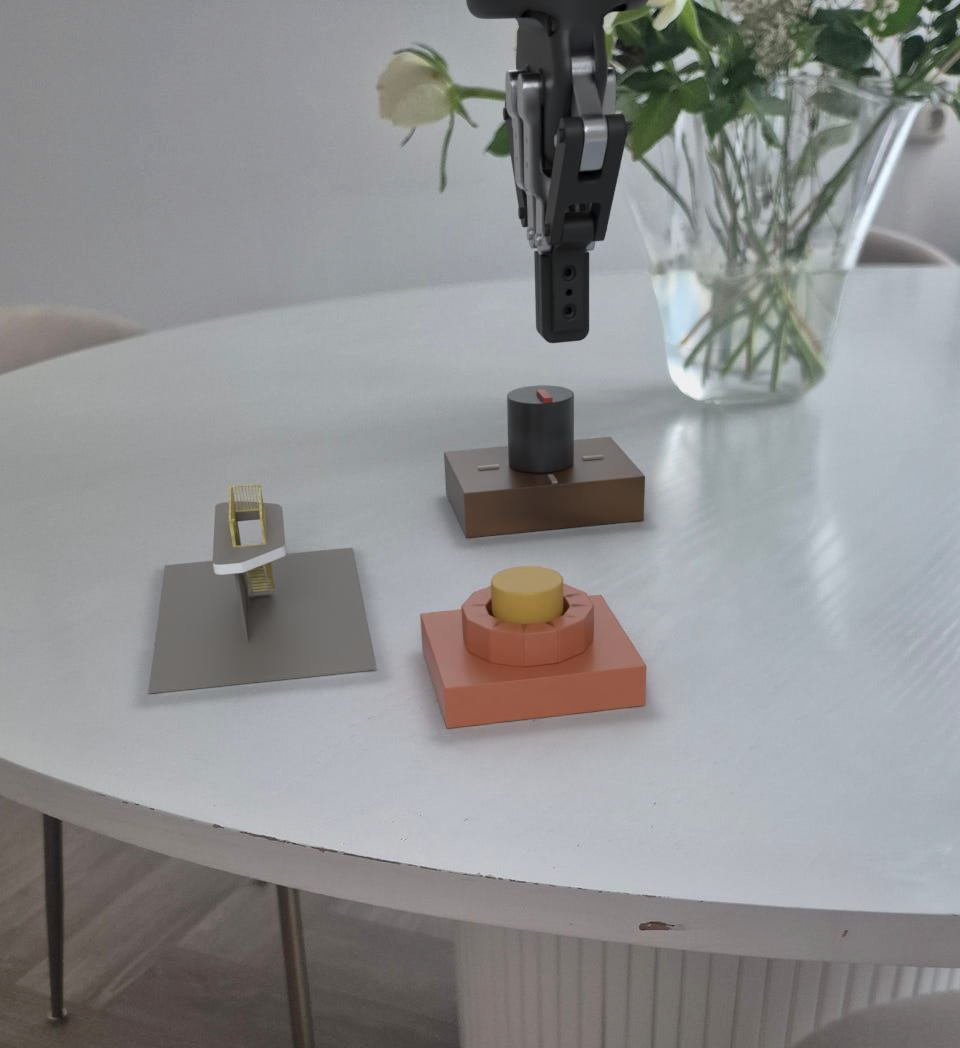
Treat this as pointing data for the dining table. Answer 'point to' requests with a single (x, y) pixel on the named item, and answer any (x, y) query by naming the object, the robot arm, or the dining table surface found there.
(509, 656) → the button box
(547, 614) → the button
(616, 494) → the control panel
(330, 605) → the platform
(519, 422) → the dial knob
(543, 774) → the dining table surface
